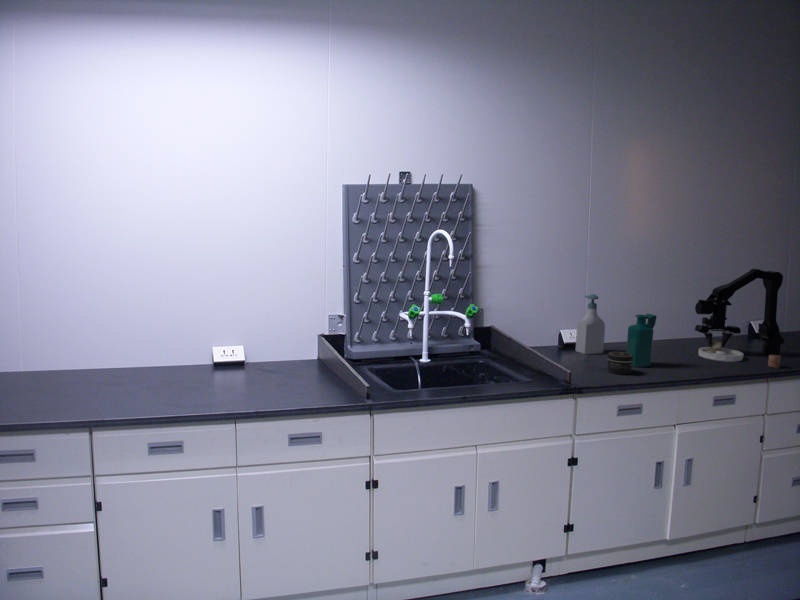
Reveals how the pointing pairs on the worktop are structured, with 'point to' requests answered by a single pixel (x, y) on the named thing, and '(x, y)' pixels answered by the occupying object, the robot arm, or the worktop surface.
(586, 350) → the soap bottle
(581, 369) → the worktop surface
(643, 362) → the pitcher
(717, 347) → the bead maple
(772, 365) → the bead terracotta
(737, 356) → the tray
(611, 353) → the jar
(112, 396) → the worktop surface
